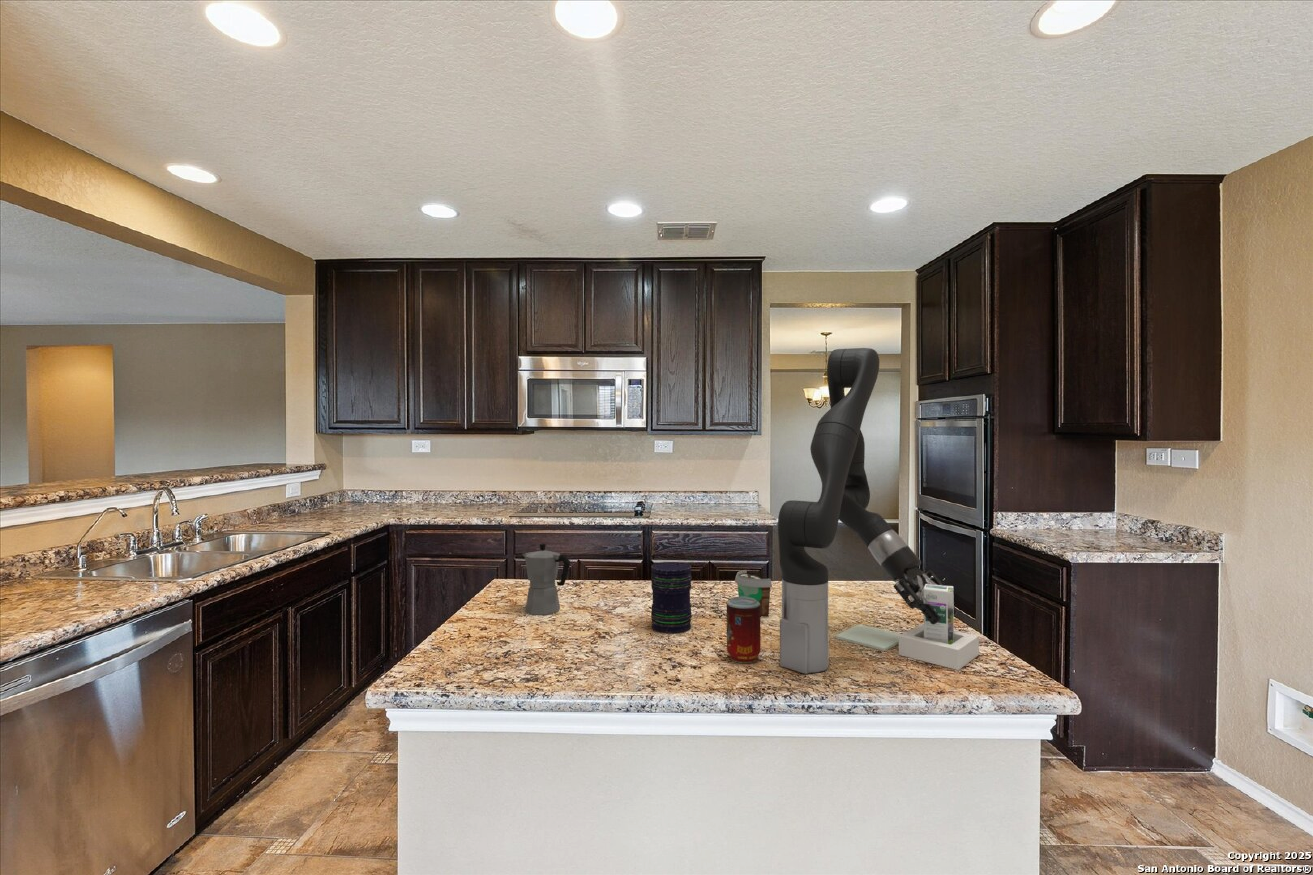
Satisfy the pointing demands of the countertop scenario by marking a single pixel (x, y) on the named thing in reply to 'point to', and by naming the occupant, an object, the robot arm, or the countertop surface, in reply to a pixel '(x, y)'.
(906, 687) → the countertop surface
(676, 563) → the storage jar
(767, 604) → the food container
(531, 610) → the coffeepot
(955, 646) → the socket collar
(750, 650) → the soda can
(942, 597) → the syrup box
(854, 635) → the green mat
